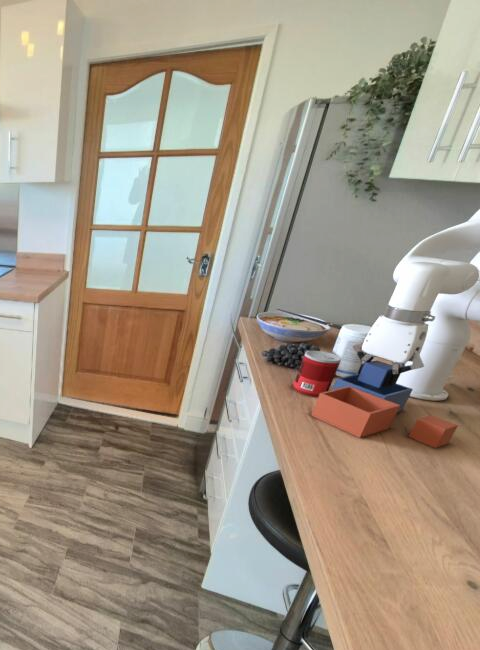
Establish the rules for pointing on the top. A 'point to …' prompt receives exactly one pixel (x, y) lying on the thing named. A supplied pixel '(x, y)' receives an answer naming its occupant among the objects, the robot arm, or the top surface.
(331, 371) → the canned food
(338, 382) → the blue bin
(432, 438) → the terracotta block
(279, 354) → the fruit
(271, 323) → the ramen bowl
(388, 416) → the terracotta bin
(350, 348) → the supplement tub
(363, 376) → the blue block
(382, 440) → the top surface
